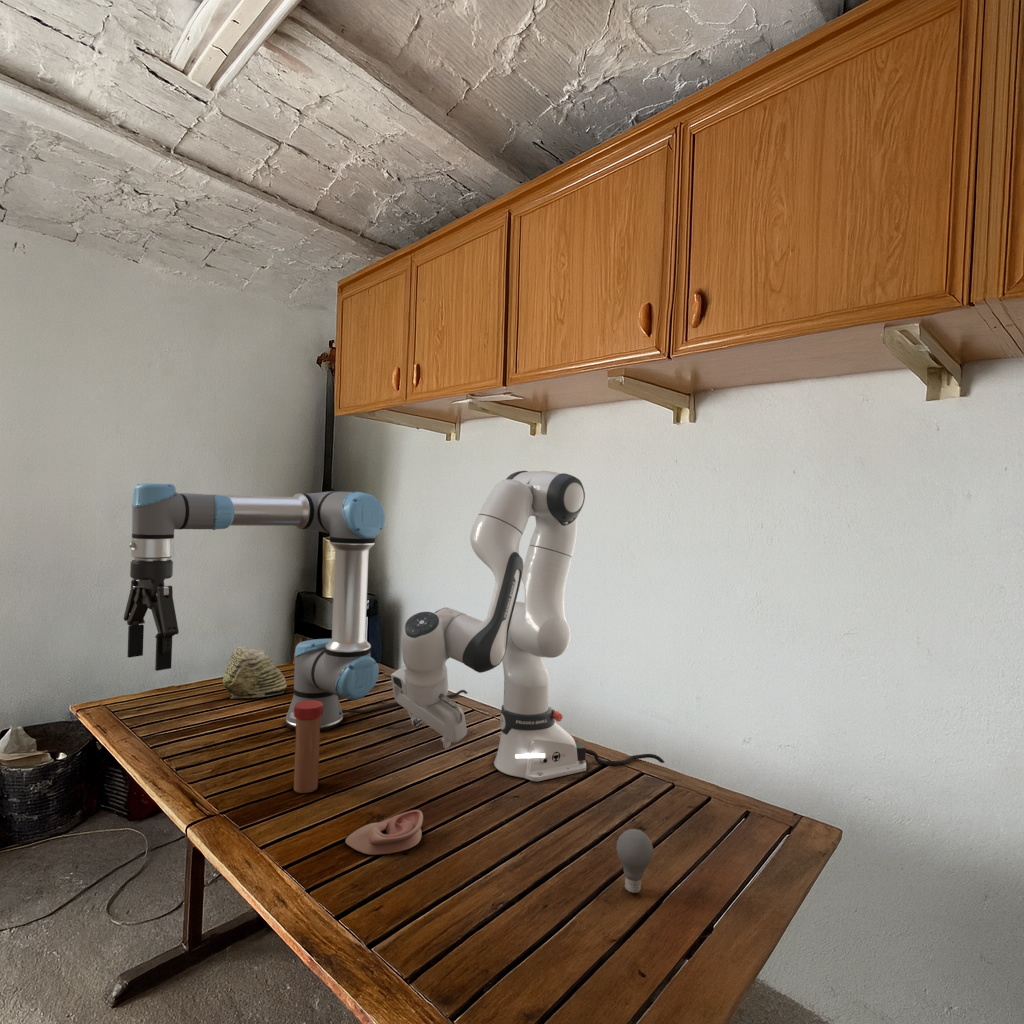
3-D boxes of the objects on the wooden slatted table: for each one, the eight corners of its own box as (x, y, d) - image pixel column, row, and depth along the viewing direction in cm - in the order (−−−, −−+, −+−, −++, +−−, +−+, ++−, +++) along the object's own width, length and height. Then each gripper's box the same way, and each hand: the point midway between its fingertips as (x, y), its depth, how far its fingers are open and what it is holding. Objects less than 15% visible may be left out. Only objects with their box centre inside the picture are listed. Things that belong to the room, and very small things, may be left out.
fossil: (218, 695, 195) (220, 647, 195) (278, 685, 208) (279, 640, 207) (228, 703, 189) (230, 653, 188) (289, 692, 201) (290, 645, 201)
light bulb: (610, 879, 108) (613, 822, 108) (644, 879, 109) (647, 822, 109) (619, 902, 102) (622, 840, 102) (655, 901, 103) (658, 840, 103)
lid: (317, 720, 134) (318, 709, 134) (289, 719, 134) (290, 708, 134) (326, 711, 140) (326, 700, 140) (299, 710, 140) (300, 699, 140)
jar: (313, 793, 135) (316, 710, 135) (290, 792, 135) (293, 709, 135) (321, 783, 140) (324, 703, 140) (298, 782, 140) (301, 702, 140)
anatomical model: (338, 827, 114) (365, 799, 125) (337, 849, 114) (364, 818, 125) (408, 839, 111) (429, 808, 122) (407, 861, 111) (428, 828, 122)
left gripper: (108, 554, 134) (104, 654, 134) (159, 565, 118) (155, 678, 119) (146, 552, 140) (143, 648, 140) (199, 563, 124) (195, 671, 124)
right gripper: (472, 699, 129) (474, 750, 135) (408, 658, 142) (413, 706, 148) (449, 715, 125) (452, 768, 131) (385, 671, 138) (391, 721, 143)
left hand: (148, 662), depth 129 cm, fingers open, 13 cm apart
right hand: (431, 735), depth 139 cm, fingers open, 8 cm apart
